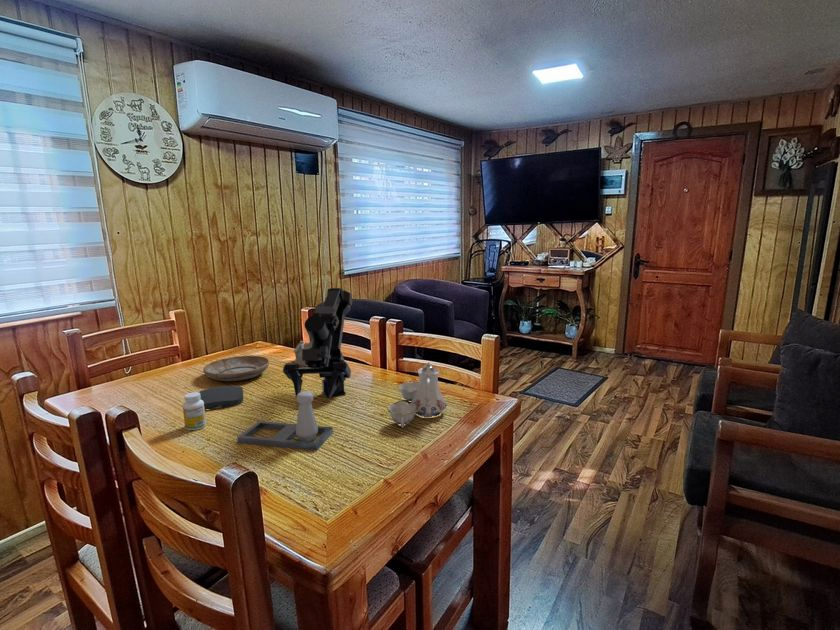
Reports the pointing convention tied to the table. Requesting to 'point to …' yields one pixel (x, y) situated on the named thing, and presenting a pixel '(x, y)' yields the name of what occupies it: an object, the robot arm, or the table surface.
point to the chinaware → (419, 397)
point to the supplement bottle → (194, 411)
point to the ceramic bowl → (236, 368)
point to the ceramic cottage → (299, 352)
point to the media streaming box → (222, 397)
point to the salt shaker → (306, 418)
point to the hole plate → (283, 436)
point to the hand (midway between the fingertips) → (313, 398)
